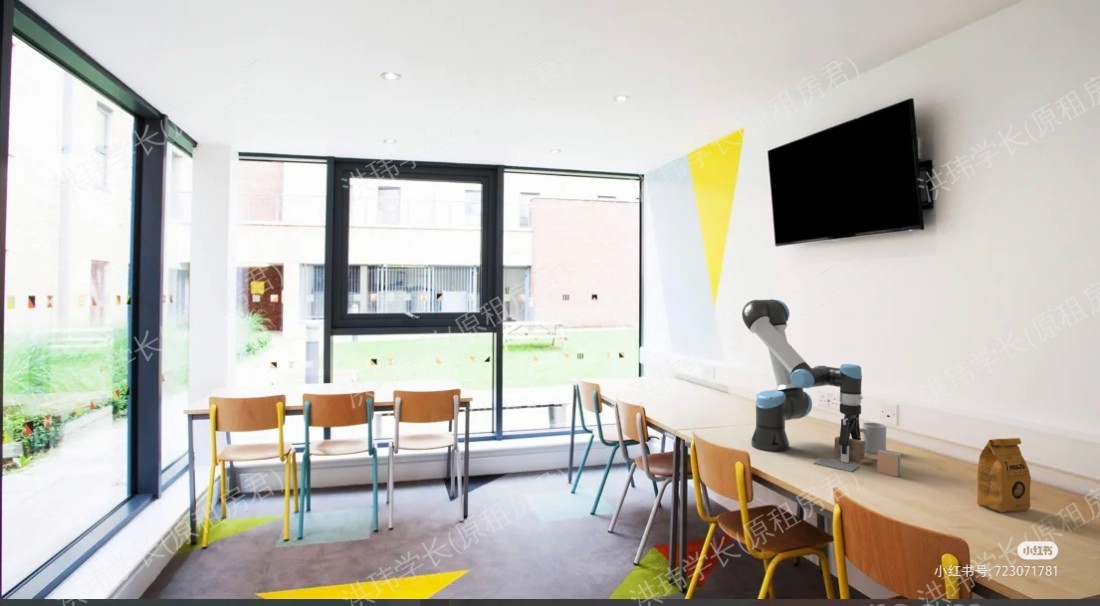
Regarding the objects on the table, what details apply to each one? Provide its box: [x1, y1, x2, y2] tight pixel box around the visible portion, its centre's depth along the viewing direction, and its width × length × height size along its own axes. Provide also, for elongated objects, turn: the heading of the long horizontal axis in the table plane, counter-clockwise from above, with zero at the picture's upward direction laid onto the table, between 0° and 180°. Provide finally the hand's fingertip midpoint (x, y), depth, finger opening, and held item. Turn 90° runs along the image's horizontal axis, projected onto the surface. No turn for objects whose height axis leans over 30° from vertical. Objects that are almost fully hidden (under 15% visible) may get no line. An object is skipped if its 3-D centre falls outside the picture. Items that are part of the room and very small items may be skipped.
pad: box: [813, 458, 860, 473], centre depth 217 cm, size 14×8×1 cm, turn 45°
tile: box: [876, 450, 902, 478], centre depth 207 cm, size 7×3×8 cm, turn 45°
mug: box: [860, 422, 887, 455], centre depth 236 cm, size 12×8×11 cm
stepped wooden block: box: [834, 436, 877, 469], centre depth 222 cm, size 18×7×8 cm, turn 45°
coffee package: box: [976, 437, 1032, 513], centre depth 175 cm, size 10×12×22 cm
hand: (849, 458), depth 224 cm, fingers open, 10 cm apart
